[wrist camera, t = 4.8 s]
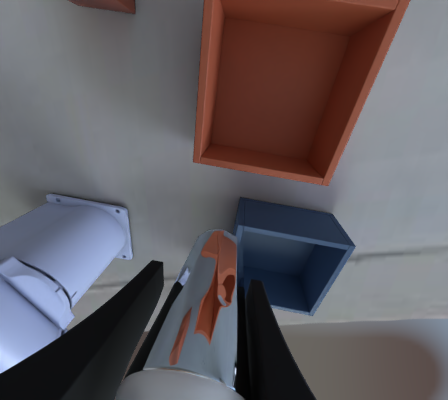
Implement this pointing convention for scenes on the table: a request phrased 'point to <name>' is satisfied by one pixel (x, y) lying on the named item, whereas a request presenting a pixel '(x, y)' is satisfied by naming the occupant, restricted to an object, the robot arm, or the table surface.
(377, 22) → the terracotta bin
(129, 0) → the block
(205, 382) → the milkshake
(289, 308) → the slate bin
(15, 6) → the table surface
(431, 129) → the table surface
